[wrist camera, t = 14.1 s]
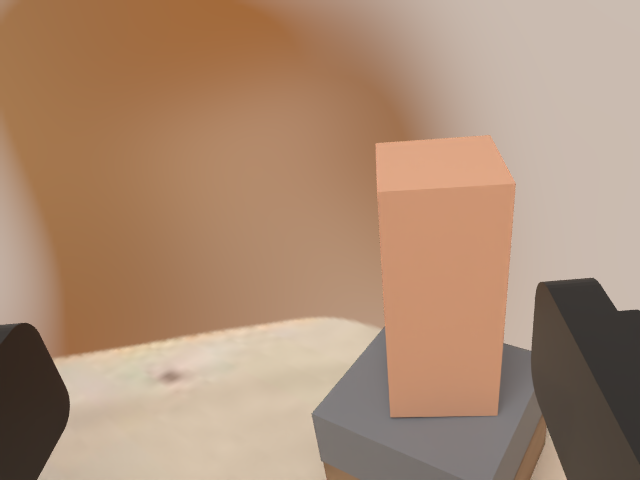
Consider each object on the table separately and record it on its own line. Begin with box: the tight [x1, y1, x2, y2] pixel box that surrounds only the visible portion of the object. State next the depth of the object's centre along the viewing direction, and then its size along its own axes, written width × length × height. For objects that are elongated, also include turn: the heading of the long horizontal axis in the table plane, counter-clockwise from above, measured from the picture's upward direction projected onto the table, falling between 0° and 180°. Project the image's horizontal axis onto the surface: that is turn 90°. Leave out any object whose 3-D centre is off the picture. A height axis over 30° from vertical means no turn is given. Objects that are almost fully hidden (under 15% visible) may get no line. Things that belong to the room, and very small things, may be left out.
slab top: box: [312, 327, 542, 480], centre depth 30 cm, size 9×9×4 cm
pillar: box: [376, 135, 516, 417], centre depth 26 cm, size 5×5×12 cm
